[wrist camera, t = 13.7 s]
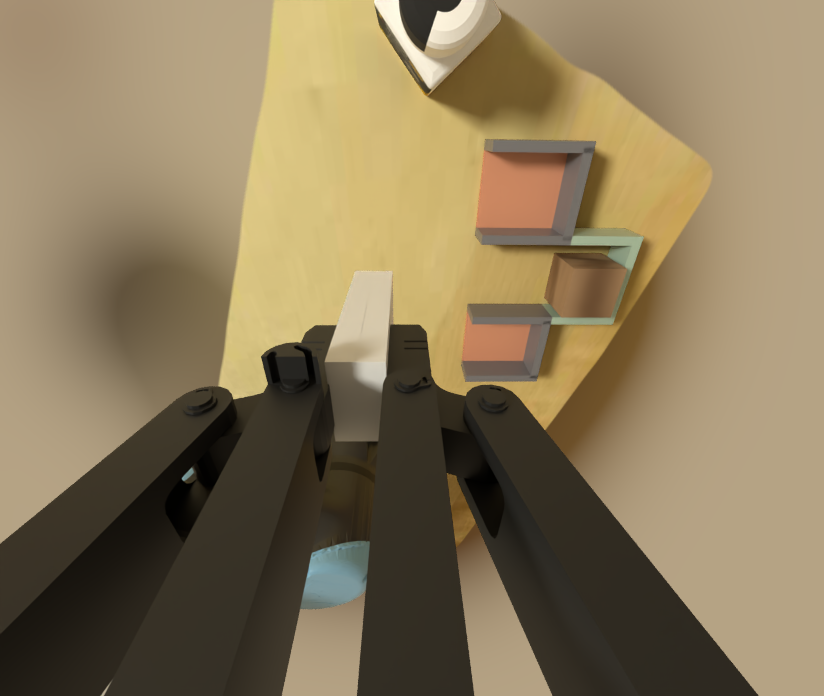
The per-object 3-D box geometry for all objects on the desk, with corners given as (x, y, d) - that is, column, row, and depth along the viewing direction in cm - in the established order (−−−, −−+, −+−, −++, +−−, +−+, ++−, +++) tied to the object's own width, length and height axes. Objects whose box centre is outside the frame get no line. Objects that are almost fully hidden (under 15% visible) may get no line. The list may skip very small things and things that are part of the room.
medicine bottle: (377, 24, 32) (366, -26, 22) (439, -47, 30) (458, -140, 20) (426, 97, 35) (435, 84, 25) (485, 38, 33) (523, -4, 23)
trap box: (461, 365, 52) (465, 381, 49) (485, 139, 37) (493, 139, 34) (580, 365, 53) (592, 381, 49) (652, 141, 38) (677, 142, 34)
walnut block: (543, 297, 47) (561, 317, 42) (554, 252, 44) (574, 268, 39) (588, 297, 47) (610, 317, 42) (601, 253, 44) (627, 269, 39)
